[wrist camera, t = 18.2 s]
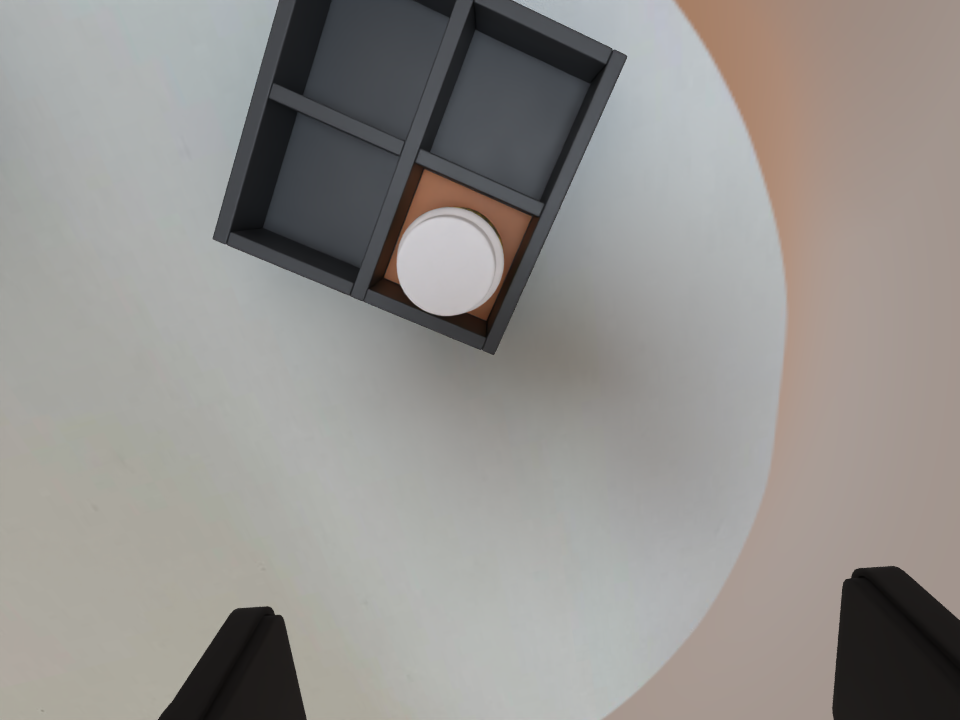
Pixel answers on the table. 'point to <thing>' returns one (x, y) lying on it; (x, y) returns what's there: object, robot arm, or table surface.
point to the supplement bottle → (450, 260)
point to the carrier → (411, 141)
